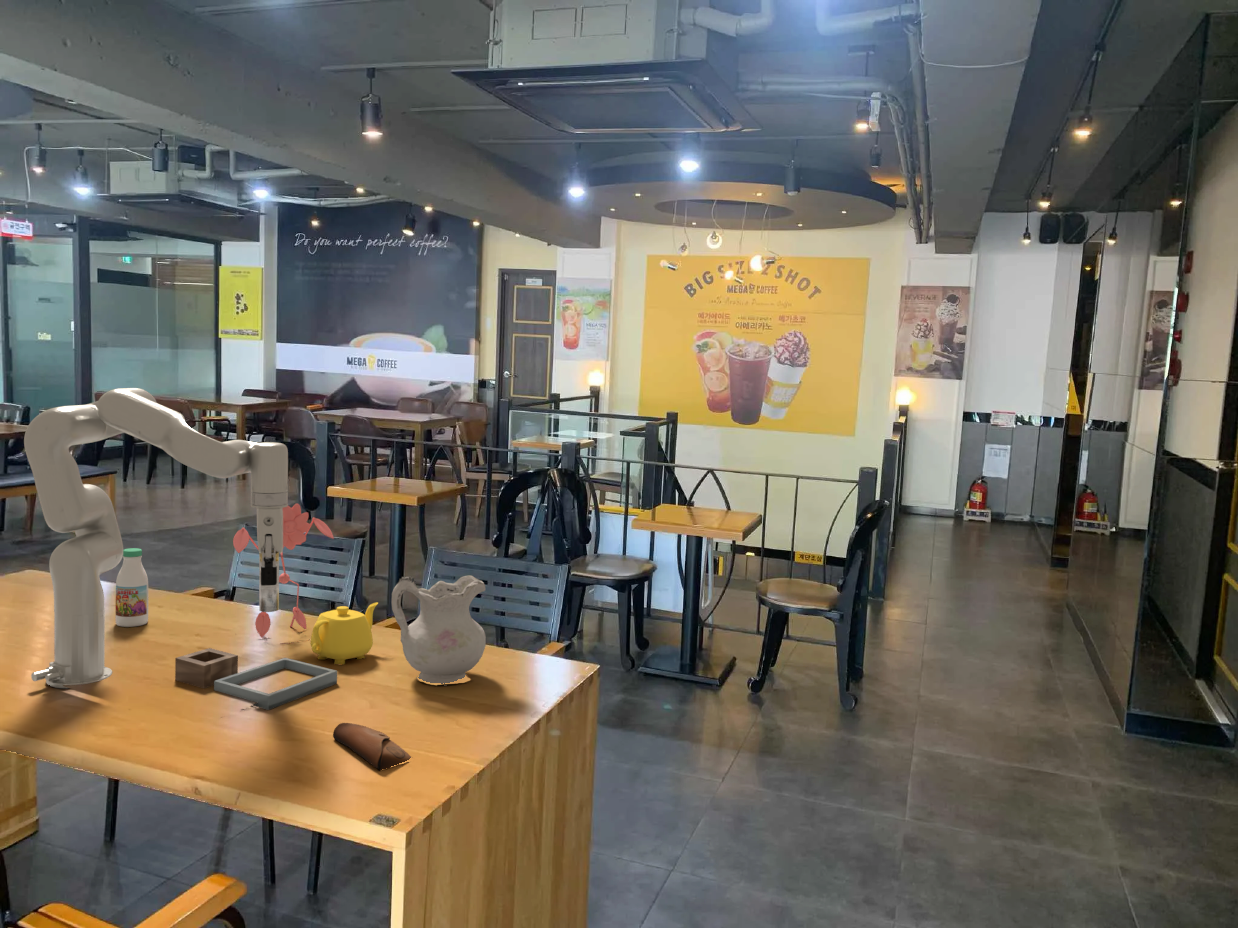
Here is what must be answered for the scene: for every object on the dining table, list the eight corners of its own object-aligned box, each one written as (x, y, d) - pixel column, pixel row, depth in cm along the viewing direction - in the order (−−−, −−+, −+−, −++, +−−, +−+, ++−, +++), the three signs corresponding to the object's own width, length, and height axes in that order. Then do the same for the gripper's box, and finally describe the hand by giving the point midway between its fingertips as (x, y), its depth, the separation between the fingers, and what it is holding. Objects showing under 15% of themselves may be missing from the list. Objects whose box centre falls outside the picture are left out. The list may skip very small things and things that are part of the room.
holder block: (203, 692, 203) (204, 665, 202) (175, 684, 206) (175, 657, 206) (237, 681, 211) (237, 655, 210) (209, 673, 215) (209, 647, 214)
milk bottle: (118, 619, 252) (119, 546, 250) (150, 619, 254) (151, 546, 252) (112, 627, 244) (112, 552, 242) (145, 627, 247) (145, 552, 245)
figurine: (224, 636, 242) (228, 502, 238) (317, 621, 261) (322, 497, 257) (250, 652, 232) (255, 513, 228) (345, 635, 250) (351, 506, 246)
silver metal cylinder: (268, 612, 203) (268, 553, 202) (255, 610, 205) (255, 551, 204) (282, 609, 207) (283, 551, 205) (269, 606, 208) (269, 548, 207)
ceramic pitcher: (406, 702, 207) (414, 594, 203) (377, 669, 223) (384, 568, 219) (495, 689, 219) (504, 586, 215) (461, 658, 235) (469, 562, 231)
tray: (268, 709, 195) (268, 695, 195) (213, 694, 202) (214, 680, 202) (336, 683, 213) (337, 670, 213) (284, 669, 220) (285, 657, 219)
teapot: (294, 659, 228) (295, 608, 227) (358, 642, 244) (360, 594, 243) (331, 672, 220) (333, 619, 219) (395, 653, 237) (397, 604, 236)
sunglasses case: (418, 760, 175) (403, 734, 172) (389, 787, 171) (373, 761, 168) (371, 729, 188) (356, 705, 185) (342, 754, 184) (327, 729, 181)
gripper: (287, 505, 197) (287, 590, 199) (288, 494, 212) (287, 573, 214) (248, 505, 194) (248, 592, 196) (252, 494, 210) (252, 574, 212)
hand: (269, 581), depth 205 cm, fingers closed on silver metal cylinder, 4 cm apart
